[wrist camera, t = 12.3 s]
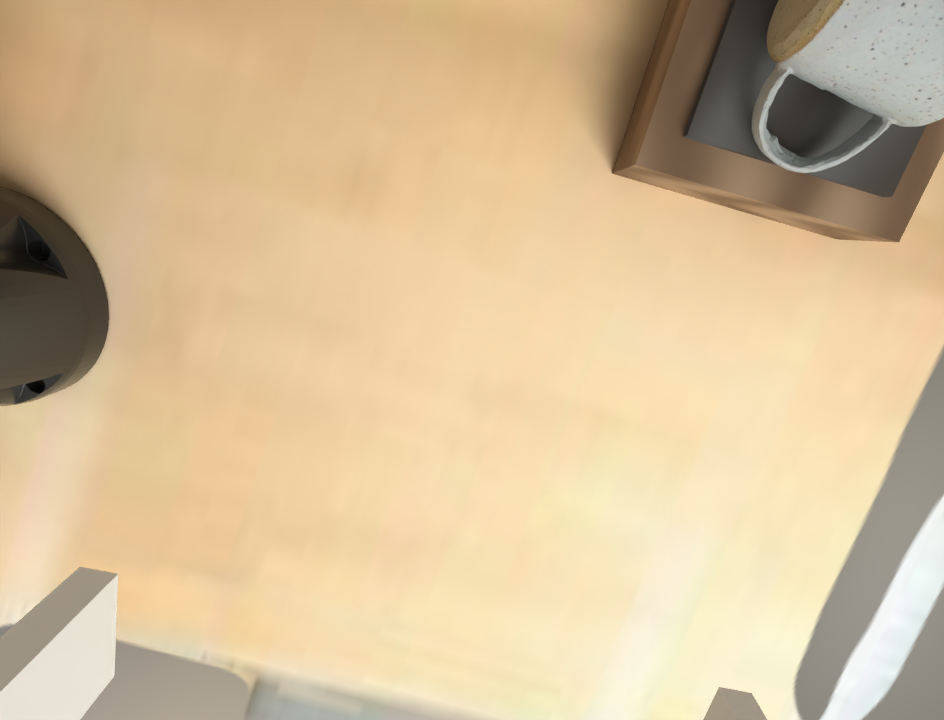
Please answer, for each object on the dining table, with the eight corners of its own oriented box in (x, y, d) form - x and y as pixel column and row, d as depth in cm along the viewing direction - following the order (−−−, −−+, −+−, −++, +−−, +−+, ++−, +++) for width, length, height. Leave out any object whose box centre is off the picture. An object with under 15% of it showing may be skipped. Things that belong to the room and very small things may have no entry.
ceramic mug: (804, -82, 24) (948, -215, 16) (952, -18, 24) (1157, -119, 17) (703, 144, 27) (787, 117, 19) (838, 196, 27) (969, 189, 20)
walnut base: (612, 173, 32) (638, 163, 27) (707, -116, 28) (761, -197, 23) (838, 239, 33) (907, 242, 28) (962, -32, 29) (1074, -90, 23)
